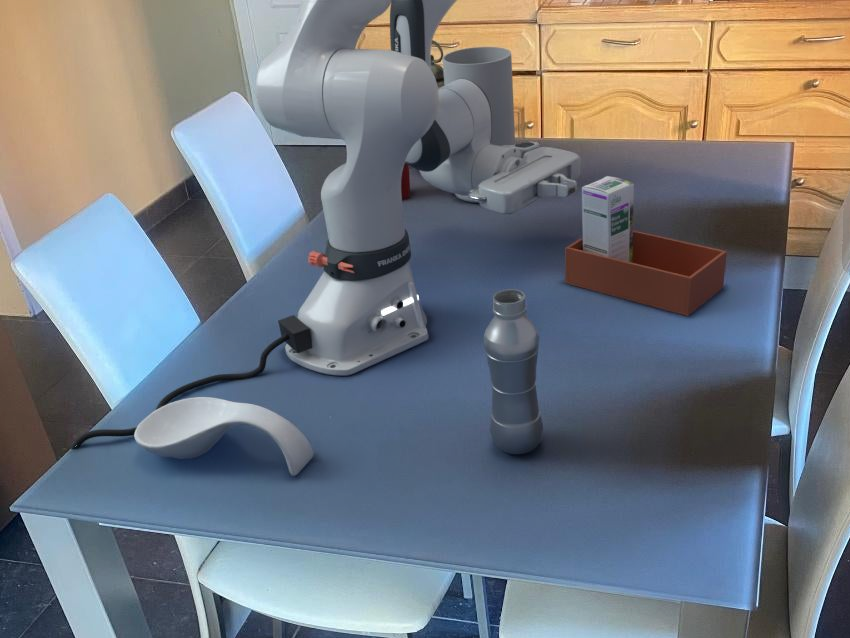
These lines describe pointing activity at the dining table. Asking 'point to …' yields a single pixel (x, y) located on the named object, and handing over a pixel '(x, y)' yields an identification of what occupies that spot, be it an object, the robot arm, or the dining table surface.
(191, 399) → the spoon rest
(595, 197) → the syrup box
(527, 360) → the plastic bottle
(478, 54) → the cylinder vase
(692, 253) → the bin
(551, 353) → the dining table surface
